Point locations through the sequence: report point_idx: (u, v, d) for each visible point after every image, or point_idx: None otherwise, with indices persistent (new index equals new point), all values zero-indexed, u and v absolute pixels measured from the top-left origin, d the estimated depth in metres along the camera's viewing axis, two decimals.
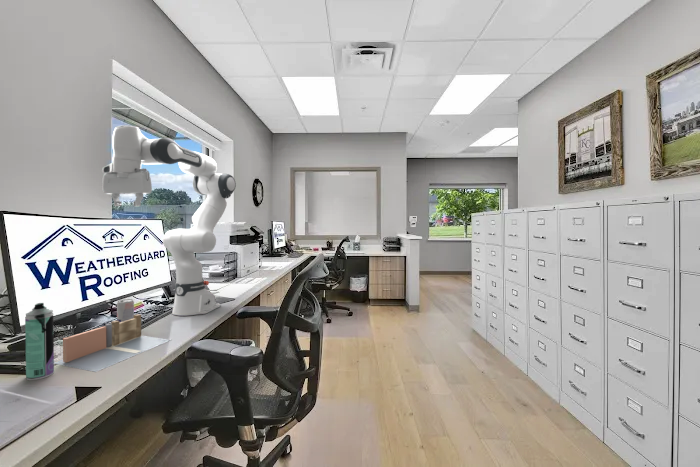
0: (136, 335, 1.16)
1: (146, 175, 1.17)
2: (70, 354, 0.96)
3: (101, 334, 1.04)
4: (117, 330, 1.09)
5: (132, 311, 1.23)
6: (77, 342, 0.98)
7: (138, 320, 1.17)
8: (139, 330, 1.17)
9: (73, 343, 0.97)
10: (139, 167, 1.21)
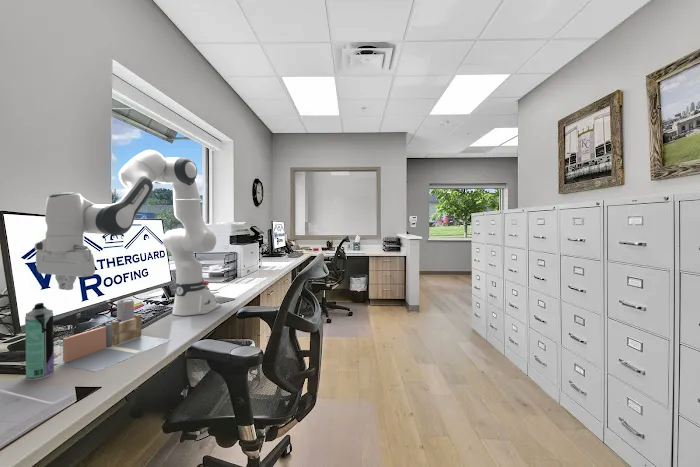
0: (136, 335, 1.16)
1: (87, 254, 0.96)
2: (70, 354, 0.96)
3: (101, 334, 1.04)
4: (117, 330, 1.09)
5: (132, 311, 1.23)
6: (77, 342, 0.98)
7: (138, 320, 1.17)
8: (139, 330, 1.17)
9: (73, 343, 0.97)
10: (80, 242, 0.99)
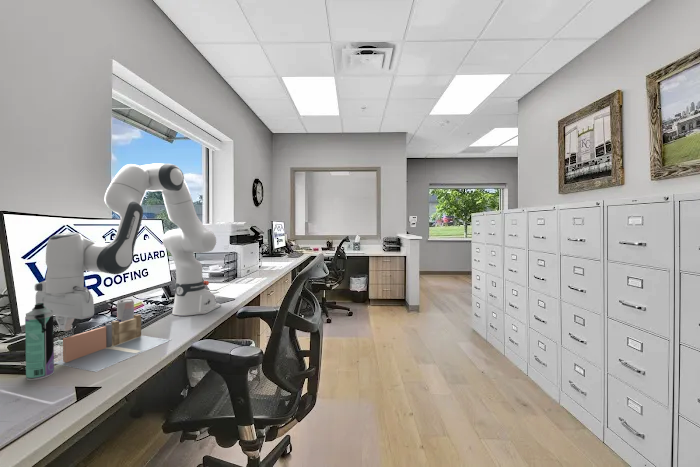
0: (136, 335, 1.16)
1: (86, 296, 0.96)
2: (70, 354, 0.96)
3: (101, 334, 1.04)
4: (117, 330, 1.09)
5: (132, 311, 1.23)
6: (77, 342, 0.98)
7: (138, 320, 1.17)
8: (139, 330, 1.17)
9: (73, 343, 0.97)
10: (80, 283, 1.00)
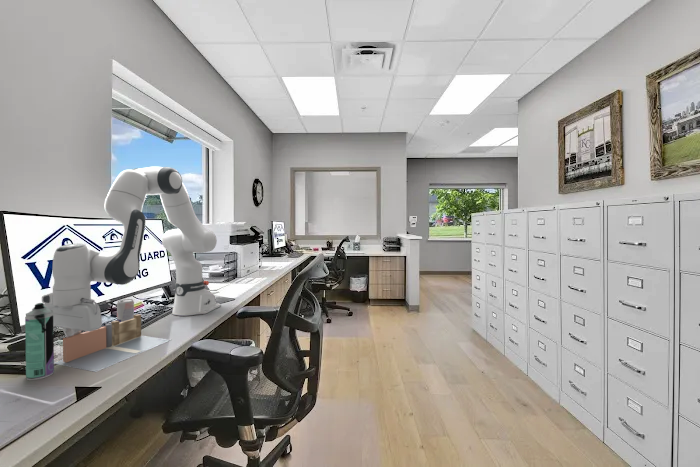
0: (136, 335, 1.16)
1: (93, 309, 0.96)
2: (70, 354, 0.96)
3: (101, 334, 1.04)
4: (117, 330, 1.09)
5: (132, 311, 1.23)
6: (77, 342, 0.98)
7: (138, 320, 1.17)
8: (139, 330, 1.17)
9: (73, 343, 0.97)
10: (87, 294, 0.99)
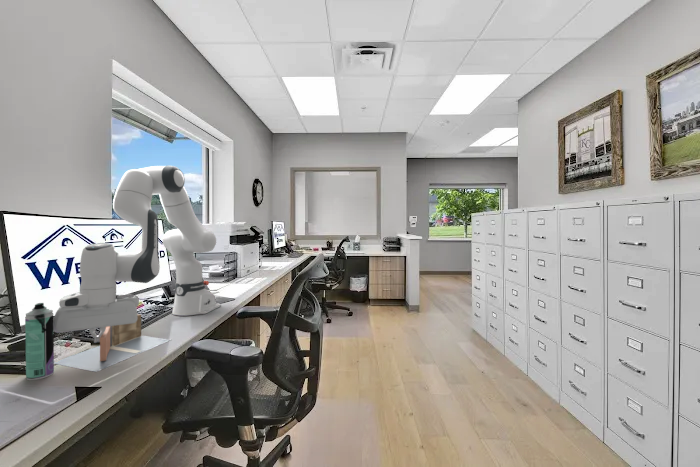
0: (136, 335, 1.16)
1: (136, 302, 1.04)
2: (106, 352, 0.97)
3: (109, 333, 1.05)
4: (117, 330, 1.09)
5: None
6: (106, 341, 0.99)
7: (138, 320, 1.17)
8: (139, 330, 1.17)
9: (106, 341, 0.98)
10: None
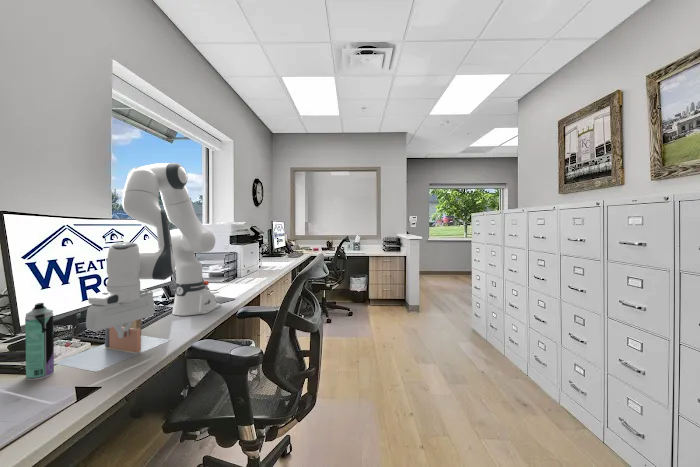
0: None
1: (151, 296, 1.12)
2: None
3: None
4: None
5: None
6: None
7: (138, 320, 1.17)
8: None
9: None
10: None
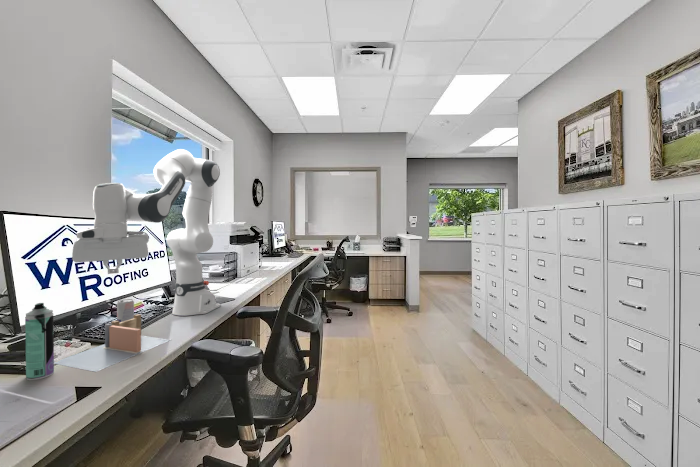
0: None
1: (146, 238, 1.12)
2: None
3: None
4: None
5: (132, 311, 1.23)
6: None
7: (138, 320, 1.17)
8: None
9: None
10: None
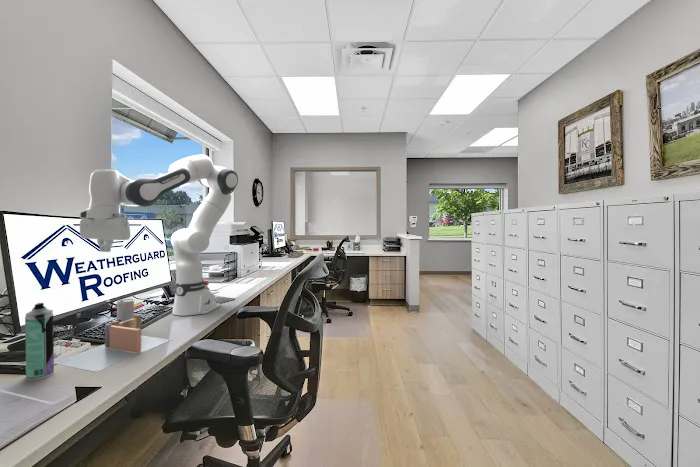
0: None
1: (124, 221, 1.14)
2: None
3: None
4: None
5: (132, 311, 1.23)
6: None
7: (138, 320, 1.17)
8: None
9: None
10: (117, 211, 1.17)
